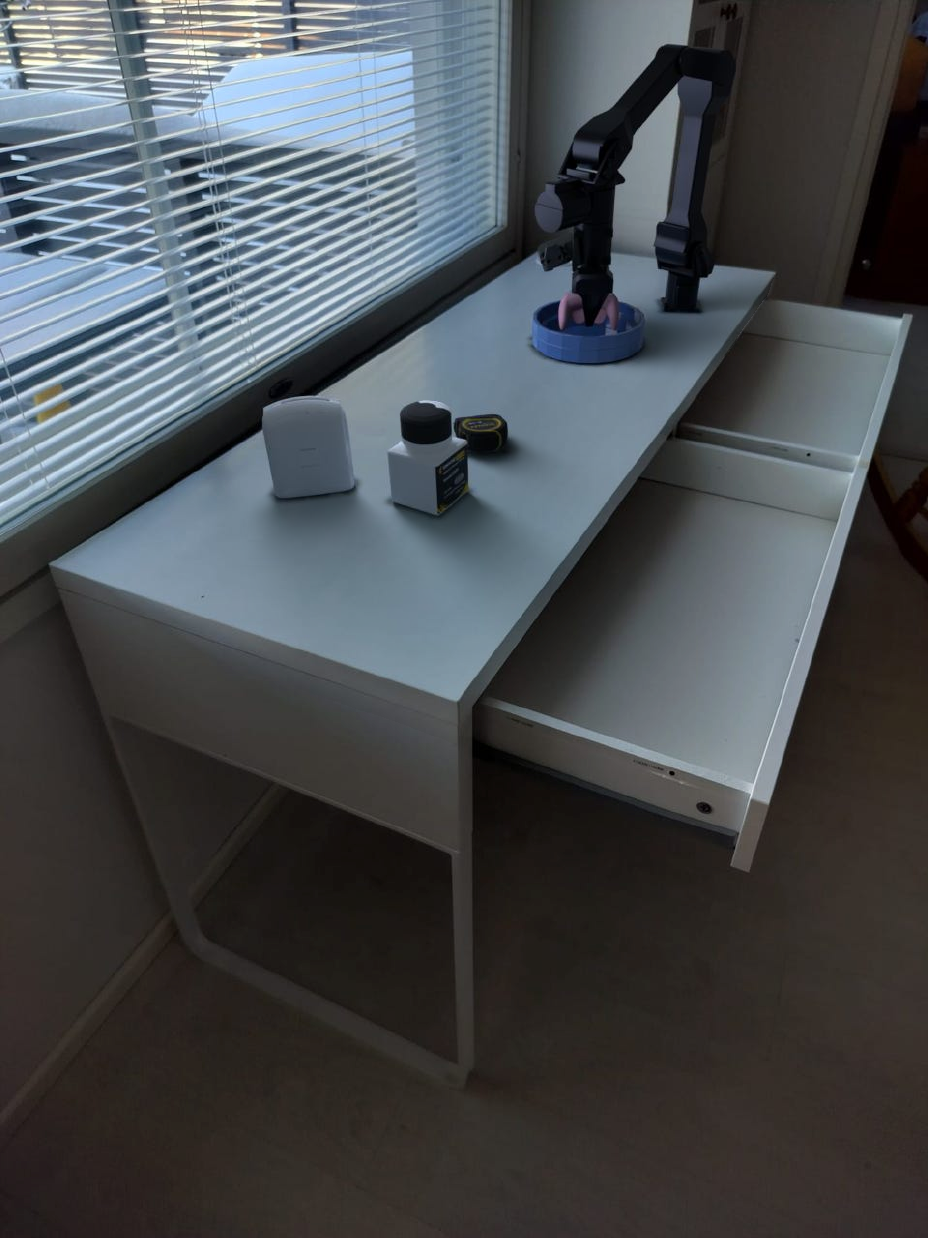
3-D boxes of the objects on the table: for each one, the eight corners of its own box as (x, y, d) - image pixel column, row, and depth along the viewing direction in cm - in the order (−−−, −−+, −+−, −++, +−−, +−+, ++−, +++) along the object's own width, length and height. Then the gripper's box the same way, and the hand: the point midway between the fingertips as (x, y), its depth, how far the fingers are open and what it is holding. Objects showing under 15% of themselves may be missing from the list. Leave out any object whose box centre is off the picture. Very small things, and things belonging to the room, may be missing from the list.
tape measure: (501, 433, 124) (501, 408, 121) (512, 455, 118) (513, 430, 116) (453, 438, 123) (452, 413, 121) (462, 461, 118) (461, 435, 115)
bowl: (534, 322, 156) (535, 297, 154) (638, 323, 155) (641, 297, 152) (530, 363, 142) (531, 336, 140) (645, 365, 141) (648, 337, 138)
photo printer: (274, 502, 111) (257, 410, 103) (273, 485, 114) (257, 395, 106) (356, 493, 112) (345, 401, 104) (353, 476, 115) (343, 386, 107)
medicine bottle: (438, 517, 107) (433, 426, 99) (390, 502, 110) (382, 412, 102) (469, 491, 112) (467, 401, 104) (422, 477, 115) (417, 389, 107)
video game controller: (617, 333, 148) (619, 288, 146) (619, 330, 143) (621, 284, 142) (557, 332, 149) (559, 288, 147) (557, 329, 144) (559, 284, 143)
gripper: (543, 203, 144) (541, 299, 154) (540, 236, 130) (537, 340, 140) (612, 203, 143) (605, 300, 153) (617, 236, 129) (609, 341, 139)
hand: (588, 319), depth 146 cm, fingers closed on video game controller, 6 cm apart
